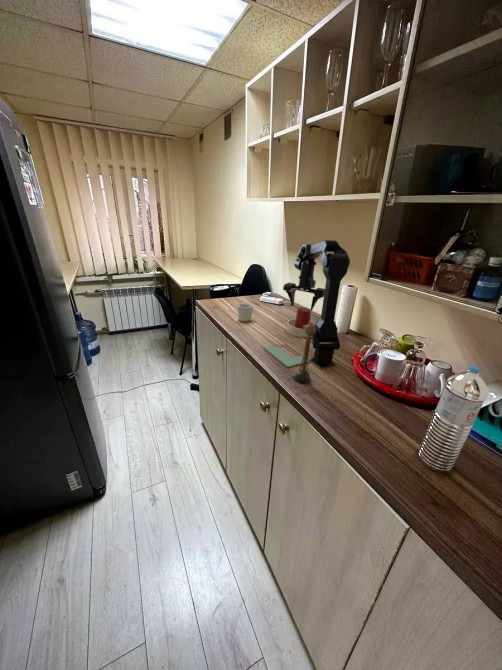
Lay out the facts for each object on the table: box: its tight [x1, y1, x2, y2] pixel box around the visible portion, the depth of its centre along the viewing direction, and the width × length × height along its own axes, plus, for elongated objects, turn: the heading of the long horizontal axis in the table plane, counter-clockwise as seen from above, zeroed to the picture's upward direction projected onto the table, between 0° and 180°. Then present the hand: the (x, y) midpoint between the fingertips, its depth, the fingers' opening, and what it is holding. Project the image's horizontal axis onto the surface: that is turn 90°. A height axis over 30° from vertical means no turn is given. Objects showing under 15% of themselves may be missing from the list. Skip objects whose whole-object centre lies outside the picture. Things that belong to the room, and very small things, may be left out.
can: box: [295, 306, 313, 329], centre depth 128 cm, size 7×7×11 cm
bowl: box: [285, 318, 316, 338], centre depth 130 cm, size 14×14×4 cm
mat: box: [264, 345, 310, 368], centre depth 107 cm, size 16×10×1 cm, turn 29°
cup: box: [237, 302, 254, 322], centre depth 141 cm, size 11×8×8 cm
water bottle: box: [417, 364, 489, 474], centre depth 58 cm, size 7×7×25 cm
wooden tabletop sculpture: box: [294, 324, 315, 384], centre depth 89 cm, size 6×5×20 cm
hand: (302, 308), depth 125 cm, fingers open, 9 cm apart
